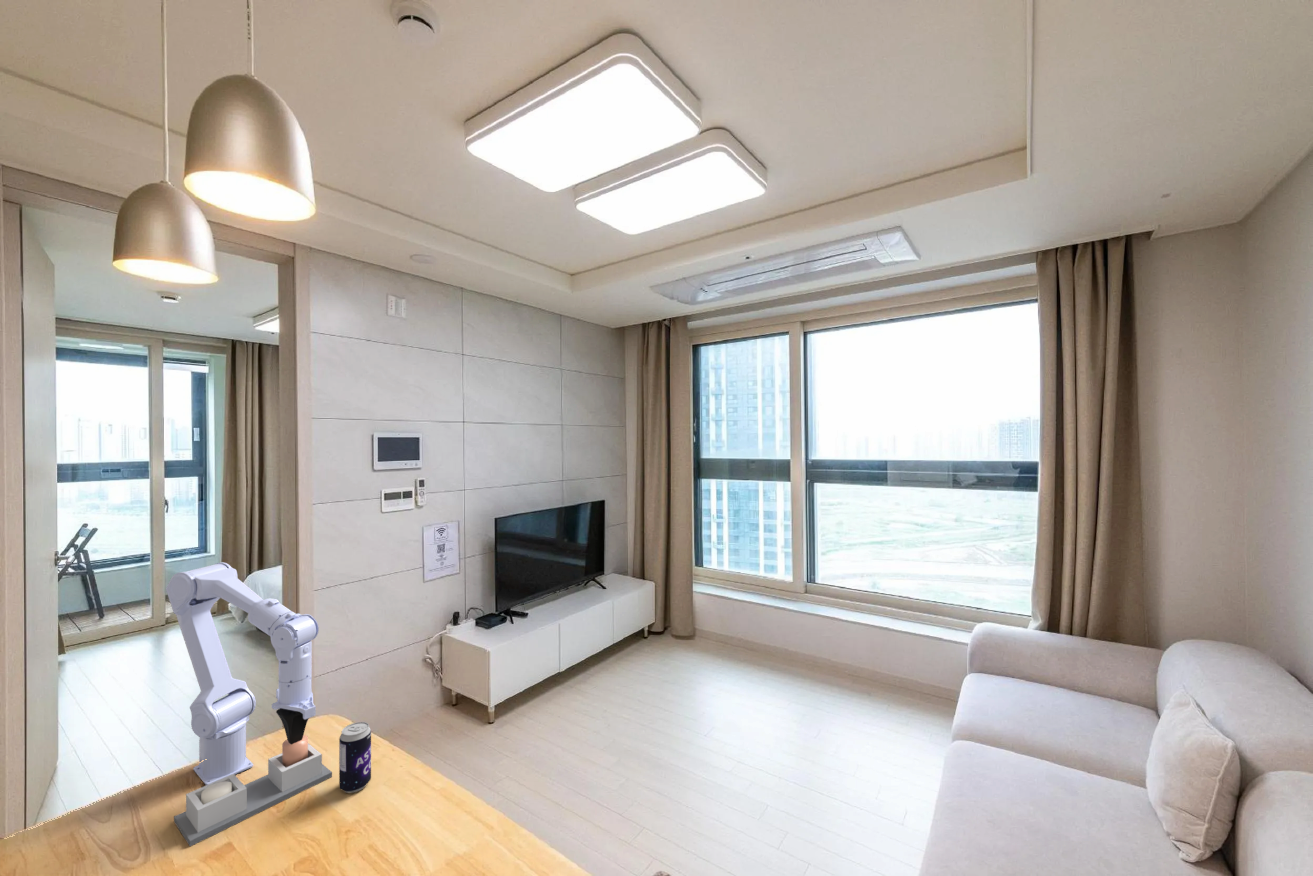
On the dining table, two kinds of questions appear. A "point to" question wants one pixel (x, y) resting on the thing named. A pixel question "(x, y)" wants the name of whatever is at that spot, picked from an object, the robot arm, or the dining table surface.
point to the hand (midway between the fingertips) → (295, 741)
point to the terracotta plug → (294, 751)
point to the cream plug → (215, 791)
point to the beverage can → (354, 757)
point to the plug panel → (249, 796)
